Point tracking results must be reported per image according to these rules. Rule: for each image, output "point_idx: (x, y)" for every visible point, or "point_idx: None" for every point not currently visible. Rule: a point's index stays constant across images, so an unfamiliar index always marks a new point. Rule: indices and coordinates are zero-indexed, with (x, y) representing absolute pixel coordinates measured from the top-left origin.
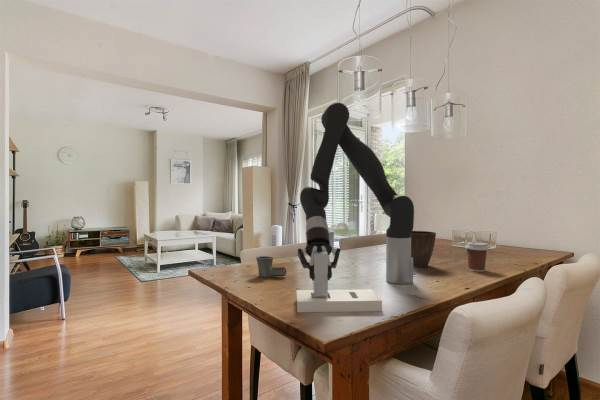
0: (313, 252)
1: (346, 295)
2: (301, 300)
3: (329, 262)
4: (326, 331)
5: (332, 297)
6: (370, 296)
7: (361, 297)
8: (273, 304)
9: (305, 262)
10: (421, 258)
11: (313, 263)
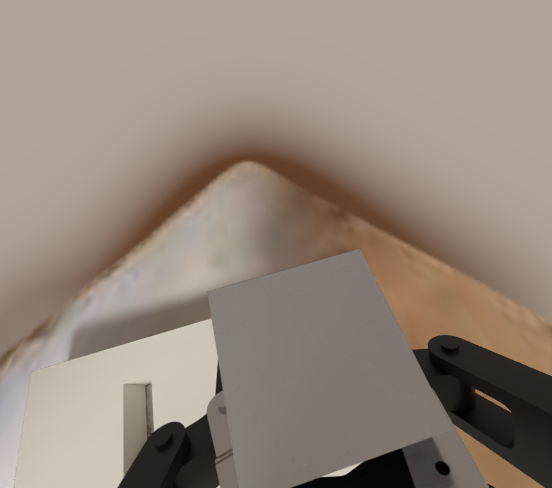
0: (414, 361)
1: (175, 413)
2: None
3: (222, 419)
4: (247, 194)
5: None
6: (59, 428)
7: (108, 397)
8: (484, 345)
9: (444, 341)
10: None
11: None
